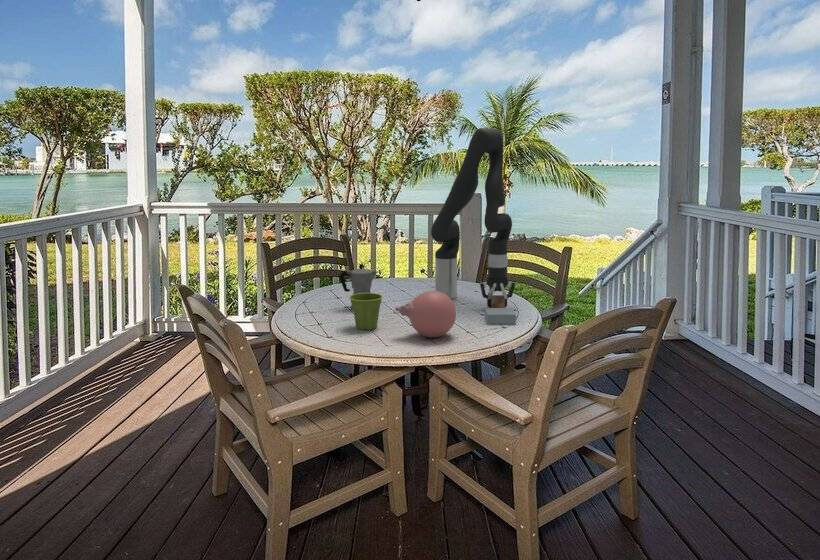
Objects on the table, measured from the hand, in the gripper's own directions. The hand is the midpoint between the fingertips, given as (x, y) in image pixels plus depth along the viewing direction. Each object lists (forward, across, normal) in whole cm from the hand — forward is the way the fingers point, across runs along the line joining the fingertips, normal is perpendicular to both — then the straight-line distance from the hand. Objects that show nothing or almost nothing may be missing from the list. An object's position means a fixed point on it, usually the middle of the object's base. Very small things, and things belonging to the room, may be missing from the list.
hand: (496, 307), depth 232 cm
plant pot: (+1, +50, +24) cm, 55 cm away
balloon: (+1, +30, +36) cm, 47 cm away
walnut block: (0, 0, 0) cm, 0 cm away
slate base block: (+1, +2, +18) cm, 18 cm away
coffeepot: (+1, +54, -4) cm, 54 cm away
